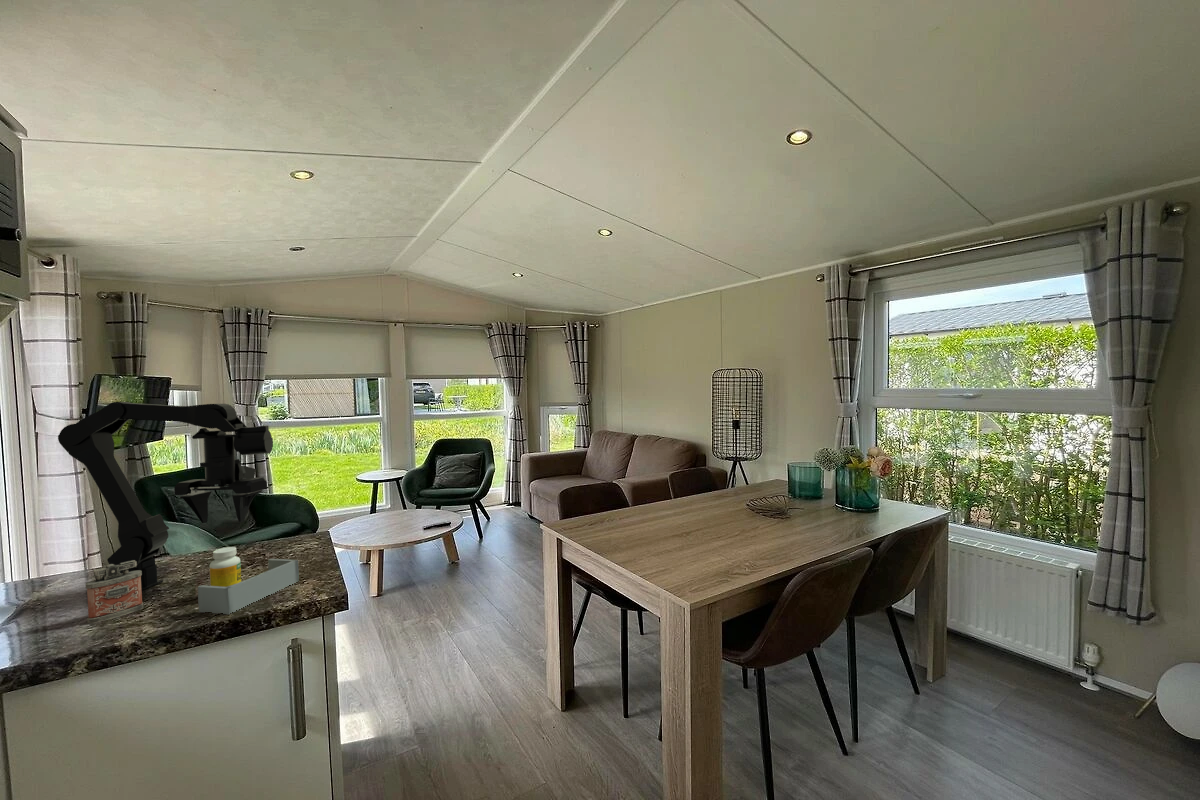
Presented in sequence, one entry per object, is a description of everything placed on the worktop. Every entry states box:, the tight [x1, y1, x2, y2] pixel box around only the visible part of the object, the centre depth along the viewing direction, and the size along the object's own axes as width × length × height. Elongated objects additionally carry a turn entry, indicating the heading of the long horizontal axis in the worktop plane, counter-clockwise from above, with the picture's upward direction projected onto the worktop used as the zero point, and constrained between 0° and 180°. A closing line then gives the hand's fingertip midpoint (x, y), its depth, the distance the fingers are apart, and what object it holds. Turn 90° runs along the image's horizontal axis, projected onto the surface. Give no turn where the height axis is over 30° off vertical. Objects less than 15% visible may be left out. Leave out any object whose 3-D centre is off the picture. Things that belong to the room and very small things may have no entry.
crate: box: [197, 558, 300, 615], centre depth 105 cm, size 7×17×5 cm, turn 167°
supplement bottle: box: [208, 546, 242, 587], centre depth 106 cm, size 5×5×10 cm
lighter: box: [85, 560, 144, 624], centre depth 98 cm, size 8×3×10 cm, turn 148°
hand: (223, 522), depth 117 cm, fingers open, 9 cm apart
